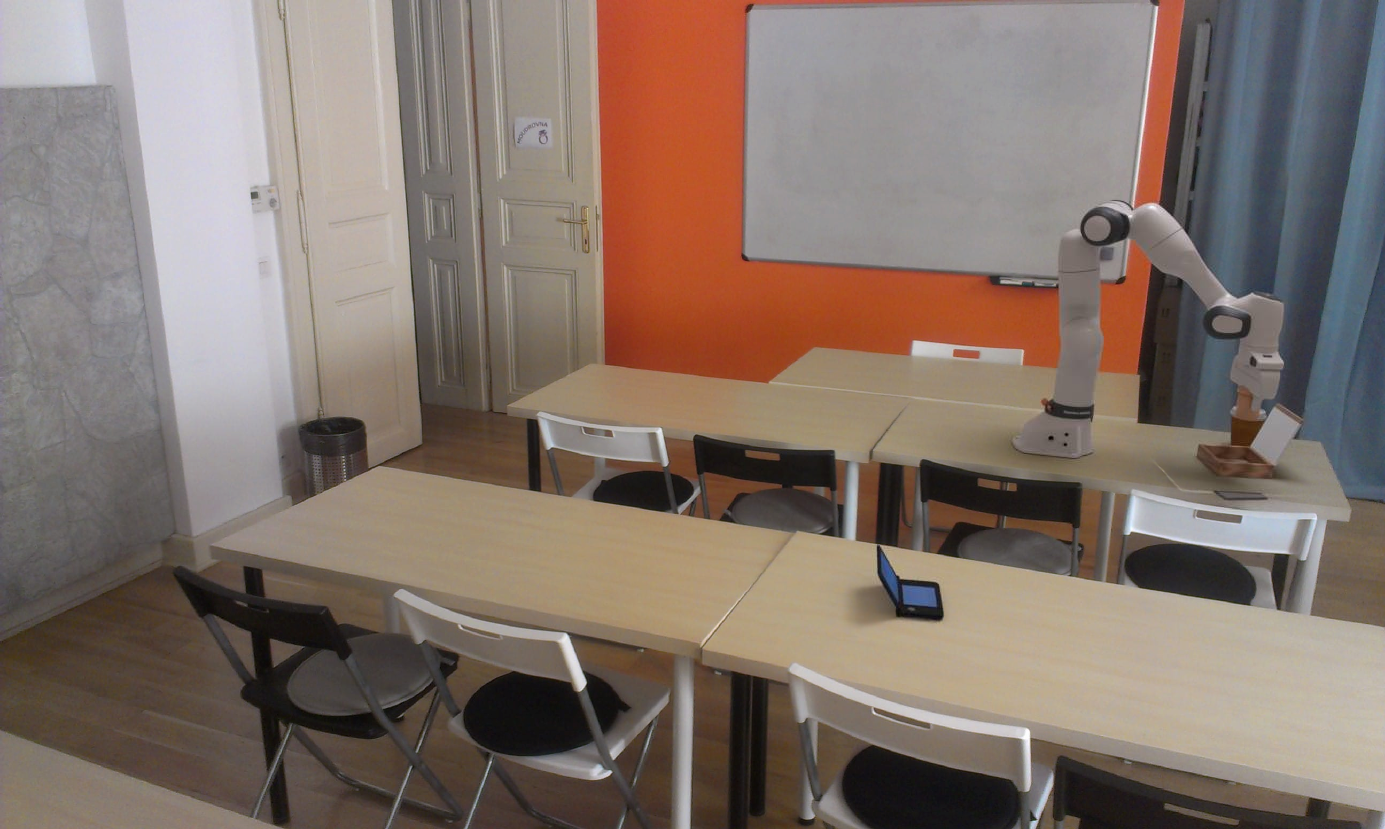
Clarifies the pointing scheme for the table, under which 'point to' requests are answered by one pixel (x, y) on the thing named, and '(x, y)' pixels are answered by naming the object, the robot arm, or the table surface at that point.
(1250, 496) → the coaster
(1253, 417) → the tan cylinder
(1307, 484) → the table surface
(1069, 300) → the robot arm
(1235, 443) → the disposable coffee cup
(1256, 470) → the tray
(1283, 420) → the lid
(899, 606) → the handheld game console
